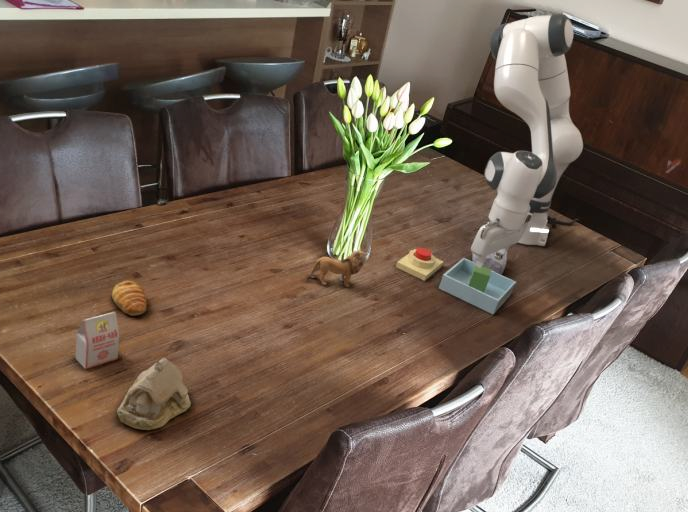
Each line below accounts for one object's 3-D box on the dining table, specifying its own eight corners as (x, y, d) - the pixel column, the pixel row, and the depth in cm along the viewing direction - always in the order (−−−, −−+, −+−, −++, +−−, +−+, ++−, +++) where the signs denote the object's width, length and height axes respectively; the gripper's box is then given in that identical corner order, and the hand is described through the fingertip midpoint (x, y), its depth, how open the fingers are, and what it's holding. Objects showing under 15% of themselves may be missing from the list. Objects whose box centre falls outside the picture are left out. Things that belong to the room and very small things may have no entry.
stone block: (470, 272, 218) (505, 276, 216) (472, 256, 215) (507, 260, 214) (472, 256, 228) (505, 260, 226) (474, 241, 225) (508, 245, 224)
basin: (458, 270, 213) (463, 257, 211) (511, 295, 208) (516, 281, 206) (438, 288, 201) (443, 274, 199) (493, 314, 197) (498, 300, 194)
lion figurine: (355, 276, 196) (363, 246, 191) (362, 287, 192) (371, 257, 187) (302, 275, 190) (309, 244, 185) (308, 287, 186) (316, 255, 181)
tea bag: (75, 358, 144) (77, 315, 139) (107, 348, 149) (110, 306, 143) (85, 369, 142) (87, 325, 137) (117, 359, 147) (120, 316, 141)
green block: (468, 282, 206) (475, 264, 203) (484, 288, 206) (491, 269, 203) (466, 290, 203) (474, 271, 199) (482, 295, 202) (490, 276, 199)
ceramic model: (145, 376, 145) (149, 334, 139) (198, 397, 143) (205, 355, 138) (105, 418, 133) (108, 373, 128) (162, 441, 132) (168, 397, 126)
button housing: (413, 253, 215) (417, 243, 213) (441, 266, 212) (445, 256, 210) (395, 267, 206) (398, 256, 204) (424, 281, 203) (428, 269, 201)
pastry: (153, 315, 161) (155, 301, 159) (122, 319, 158) (123, 304, 156) (139, 292, 167) (140, 277, 165) (108, 295, 164) (109, 280, 162)
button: (418, 251, 210) (420, 246, 209) (432, 258, 208) (434, 252, 207) (411, 256, 206) (413, 250, 205) (425, 263, 205) (427, 257, 204)
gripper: (496, 229, 183) (477, 277, 191) (536, 214, 197) (517, 260, 205) (475, 217, 186) (457, 265, 194) (516, 203, 200) (498, 249, 208)
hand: (488, 262), depth 199 cm, fingers open, 8 cm apart
